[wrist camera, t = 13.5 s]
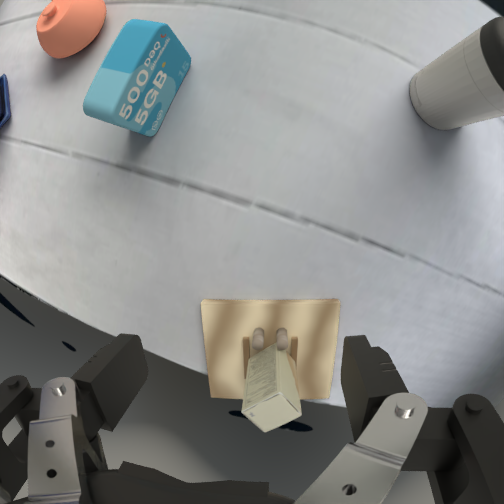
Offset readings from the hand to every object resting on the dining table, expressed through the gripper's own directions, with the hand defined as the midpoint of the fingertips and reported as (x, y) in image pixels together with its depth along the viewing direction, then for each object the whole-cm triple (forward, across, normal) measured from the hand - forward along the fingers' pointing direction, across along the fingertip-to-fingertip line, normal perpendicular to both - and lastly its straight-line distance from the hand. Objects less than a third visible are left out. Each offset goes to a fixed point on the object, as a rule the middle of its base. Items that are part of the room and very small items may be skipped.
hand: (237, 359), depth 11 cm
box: (+25, 0, +16) cm, 30 cm away
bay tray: (+27, 0, +16) cm, 31 cm away
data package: (+27, +13, -20) cm, 36 cm away
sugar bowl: (+27, +29, -38) cm, 54 cm away
